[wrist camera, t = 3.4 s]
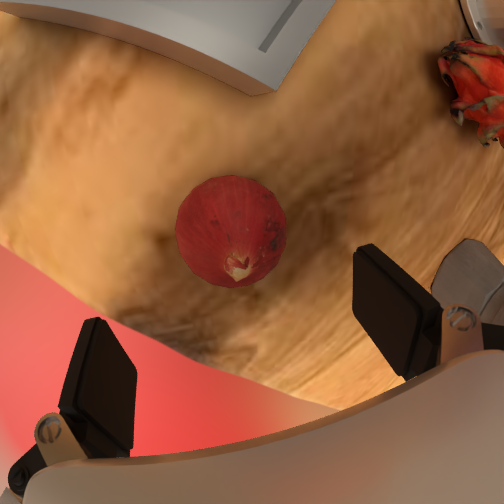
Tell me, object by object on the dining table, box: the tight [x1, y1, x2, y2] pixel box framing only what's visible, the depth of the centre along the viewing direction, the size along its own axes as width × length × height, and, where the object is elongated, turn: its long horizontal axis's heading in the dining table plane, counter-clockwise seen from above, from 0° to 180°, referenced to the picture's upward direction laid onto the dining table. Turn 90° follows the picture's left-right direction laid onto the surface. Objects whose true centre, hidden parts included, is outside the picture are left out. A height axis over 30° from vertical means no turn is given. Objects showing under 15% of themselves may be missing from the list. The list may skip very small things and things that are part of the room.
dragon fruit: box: [437, 37, 504, 148], centre depth 14 cm, size 8×8×12 cm
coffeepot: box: [432, 239, 504, 326], centre depth 19 cm, size 15×9×18 cm, turn 147°
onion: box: [175, 175, 286, 288], centre depth 15 cm, size 6×6×8 cm
